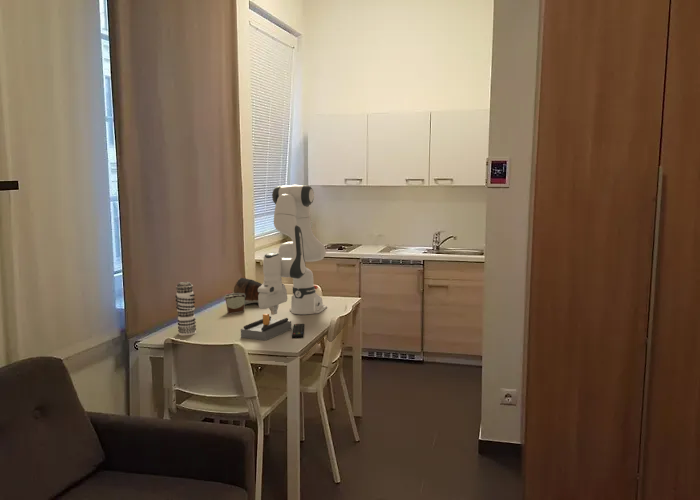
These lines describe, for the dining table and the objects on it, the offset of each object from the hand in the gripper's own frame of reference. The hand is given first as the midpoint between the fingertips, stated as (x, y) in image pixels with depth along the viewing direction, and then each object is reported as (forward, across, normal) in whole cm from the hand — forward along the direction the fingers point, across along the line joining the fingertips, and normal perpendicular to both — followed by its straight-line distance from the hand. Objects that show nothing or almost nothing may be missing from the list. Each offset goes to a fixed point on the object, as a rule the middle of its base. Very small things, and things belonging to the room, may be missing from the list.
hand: (274, 314), depth 296 cm
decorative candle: (+8, +20, -37) cm, 43 cm away
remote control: (+9, -2, +13) cm, 15 cm away
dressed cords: (+4, +7, 0) cm, 8 cm away
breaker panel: (+8, +6, 0) cm, 10 cm away
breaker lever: (+4, +7, 0) cm, 7 cm away
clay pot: (+7, -48, -44) cm, 65 cm away
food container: (+7, -26, -44) cm, 52 cm away
